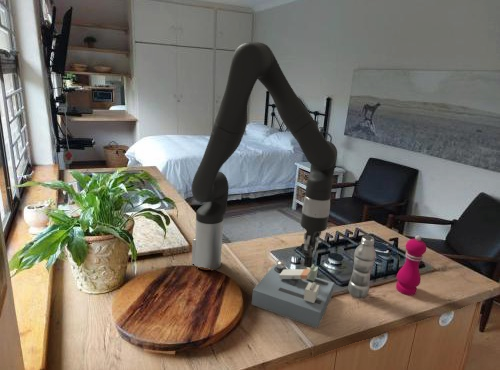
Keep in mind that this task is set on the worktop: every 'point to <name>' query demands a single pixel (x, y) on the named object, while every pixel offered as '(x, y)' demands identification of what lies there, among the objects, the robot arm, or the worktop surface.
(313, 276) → the green slider
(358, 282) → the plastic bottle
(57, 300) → the worktop surface
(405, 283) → the pepper mill
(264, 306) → the console
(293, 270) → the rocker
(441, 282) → the worktop surface
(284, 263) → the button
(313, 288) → the slider knob
